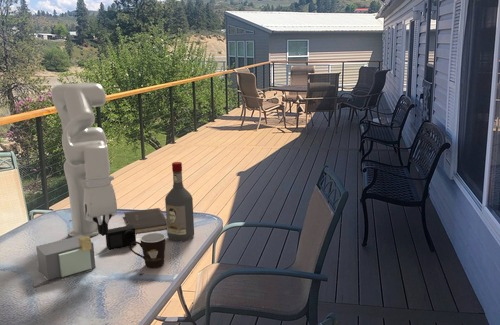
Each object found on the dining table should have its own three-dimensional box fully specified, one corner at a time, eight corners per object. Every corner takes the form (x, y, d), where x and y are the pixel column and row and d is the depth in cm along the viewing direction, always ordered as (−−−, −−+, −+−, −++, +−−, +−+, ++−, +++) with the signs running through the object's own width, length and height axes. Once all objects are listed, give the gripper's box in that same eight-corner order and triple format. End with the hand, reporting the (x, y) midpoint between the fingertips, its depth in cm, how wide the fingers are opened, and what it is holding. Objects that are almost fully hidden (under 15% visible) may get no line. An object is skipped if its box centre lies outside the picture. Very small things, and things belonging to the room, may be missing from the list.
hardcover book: (131, 234, 213) (130, 229, 213) (124, 217, 234) (123, 212, 234) (170, 229, 218) (170, 224, 218) (160, 212, 239) (160, 207, 239)
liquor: (178, 231, 214) (174, 159, 207) (197, 235, 210) (193, 161, 203) (164, 239, 206) (159, 164, 199) (183, 243, 202) (179, 166, 195)
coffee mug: (171, 261, 186) (170, 234, 184) (159, 271, 178) (158, 243, 176) (142, 257, 190) (140, 231, 188) (129, 267, 182) (127, 239, 180)
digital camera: (109, 252, 195) (108, 234, 194) (106, 247, 200) (104, 229, 198) (137, 246, 200) (135, 228, 198) (133, 241, 205) (131, 224, 203)
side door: (90, 267, 181) (87, 235, 178) (93, 270, 178) (90, 237, 175) (60, 275, 175) (57, 242, 172) (64, 278, 172) (60, 245, 170)
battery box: (84, 258, 190) (82, 234, 188) (97, 269, 181) (95, 244, 179) (23, 275, 177) (20, 250, 175) (34, 287, 168) (31, 261, 166)
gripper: (114, 176, 183) (119, 226, 187) (72, 184, 174) (77, 236, 178) (124, 180, 177) (128, 232, 181) (80, 188, 168) (86, 242, 172)
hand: (103, 234), depth 179 cm, fingers closed
